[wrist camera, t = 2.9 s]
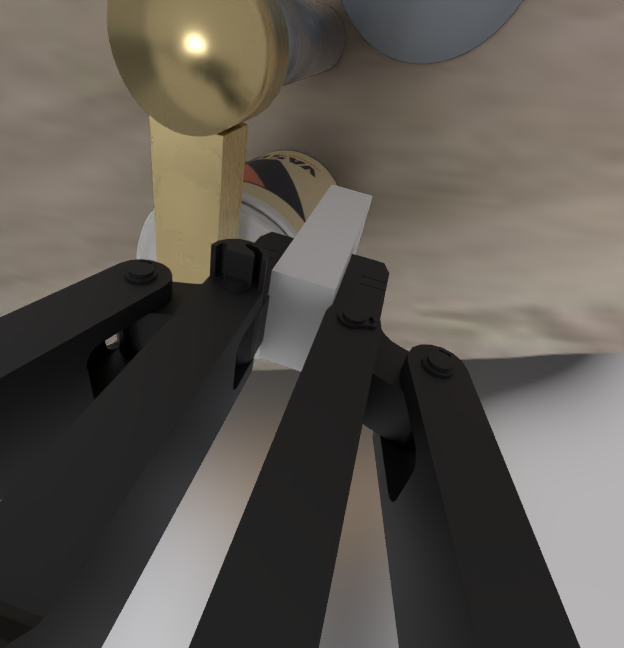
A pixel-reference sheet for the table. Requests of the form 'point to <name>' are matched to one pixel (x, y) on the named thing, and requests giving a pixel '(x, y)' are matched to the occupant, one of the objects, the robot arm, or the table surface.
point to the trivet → (427, 26)
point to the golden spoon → (198, 109)
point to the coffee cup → (267, 199)
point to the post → (311, 38)
